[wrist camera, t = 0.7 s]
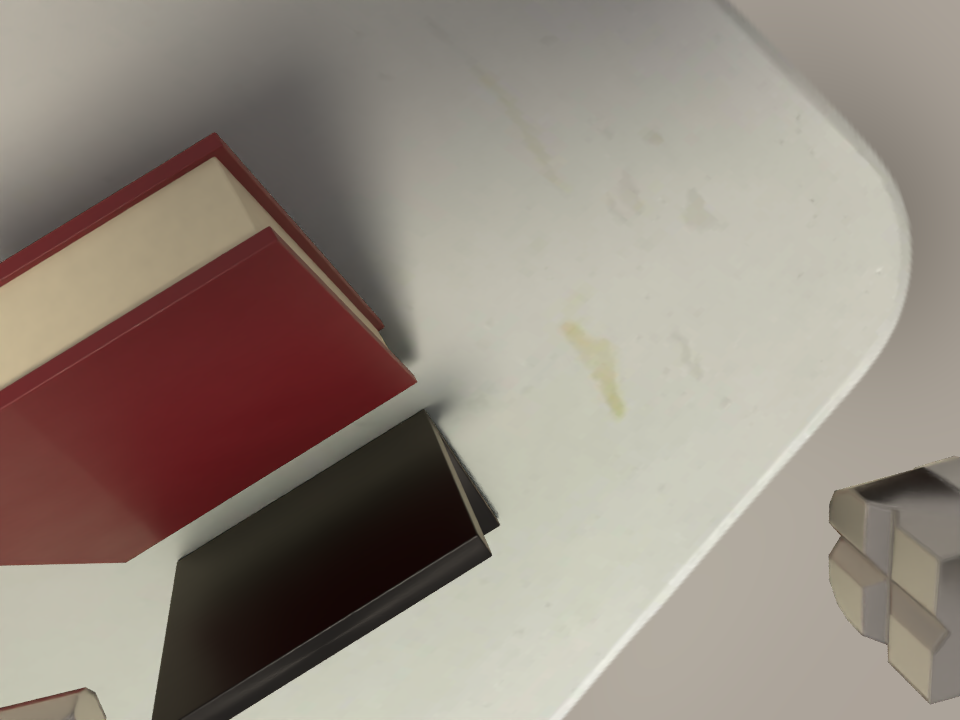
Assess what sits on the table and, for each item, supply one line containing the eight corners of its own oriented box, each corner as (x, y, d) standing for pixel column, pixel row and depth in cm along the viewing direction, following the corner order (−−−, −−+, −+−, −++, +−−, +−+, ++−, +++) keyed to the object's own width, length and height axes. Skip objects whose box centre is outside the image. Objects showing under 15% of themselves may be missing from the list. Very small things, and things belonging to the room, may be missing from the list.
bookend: (176, 561, 36) (147, 739, 27) (424, 408, 36) (478, 534, 27) (267, 662, 39) (268, 855, 30) (497, 518, 39) (568, 667, 30)
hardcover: (93, 496, 34) (-308, 449, 19) (380, 319, 35) (214, 130, 19) (125, 562, 34) (-265, 572, 18) (417, 382, 34) (278, 239, 18)
